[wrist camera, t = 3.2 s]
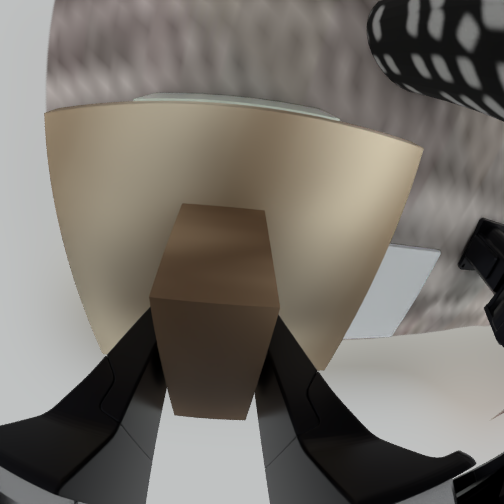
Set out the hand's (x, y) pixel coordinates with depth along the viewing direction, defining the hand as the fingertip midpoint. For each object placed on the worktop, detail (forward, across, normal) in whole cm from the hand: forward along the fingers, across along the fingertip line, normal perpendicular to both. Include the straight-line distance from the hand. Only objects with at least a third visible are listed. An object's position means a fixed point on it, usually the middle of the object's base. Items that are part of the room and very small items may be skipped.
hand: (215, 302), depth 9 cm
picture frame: (+13, -14, +11) cm, 22 cm away
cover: (+2, 0, 0) cm, 2 cm away
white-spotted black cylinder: (+13, -12, -13) cm, 22 cm away
